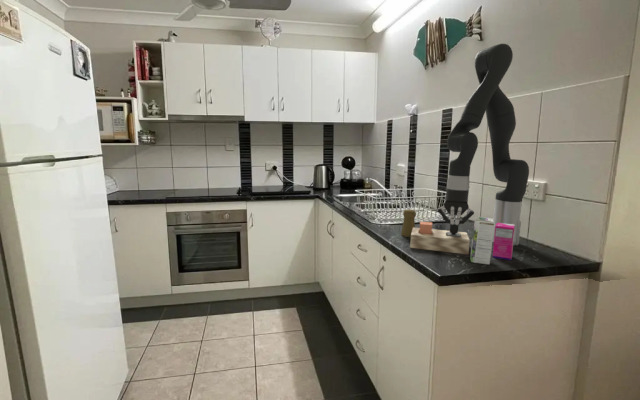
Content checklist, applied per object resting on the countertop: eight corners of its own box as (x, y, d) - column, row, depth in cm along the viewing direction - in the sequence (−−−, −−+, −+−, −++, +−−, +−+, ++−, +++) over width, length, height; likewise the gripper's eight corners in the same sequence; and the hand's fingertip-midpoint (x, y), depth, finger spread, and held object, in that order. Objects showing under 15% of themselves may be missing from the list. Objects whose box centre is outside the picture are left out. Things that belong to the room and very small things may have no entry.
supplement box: (493, 252, 119) (497, 222, 117) (512, 256, 116) (516, 224, 114) (491, 257, 114) (495, 225, 112) (511, 260, 111) (515, 227, 109)
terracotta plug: (431, 235, 128) (432, 222, 127) (431, 238, 124) (432, 225, 123) (419, 233, 129) (420, 221, 128) (419, 236, 125) (419, 223, 124)
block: (465, 244, 128) (466, 232, 127) (468, 254, 117) (469, 240, 116) (412, 239, 134) (412, 227, 133) (410, 247, 123) (411, 234, 122)
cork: (404, 232, 145) (406, 207, 143) (417, 235, 141) (419, 209, 139) (398, 235, 140) (400, 209, 138) (411, 237, 136) (413, 211, 134)
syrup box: (469, 257, 114) (473, 216, 111) (488, 259, 112) (493, 217, 109) (470, 262, 109) (475, 219, 106) (490, 265, 106) (495, 221, 104)
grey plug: (458, 245, 125) (459, 233, 124) (459, 249, 121) (460, 236, 120) (445, 244, 127) (447, 231, 126) (446, 247, 122) (447, 234, 122)
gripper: (476, 188, 122) (471, 233, 124) (438, 185, 126) (434, 229, 129) (478, 190, 115) (473, 238, 117) (438, 188, 119) (434, 234, 122)
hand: (453, 233), depth 123 cm, fingers closed
